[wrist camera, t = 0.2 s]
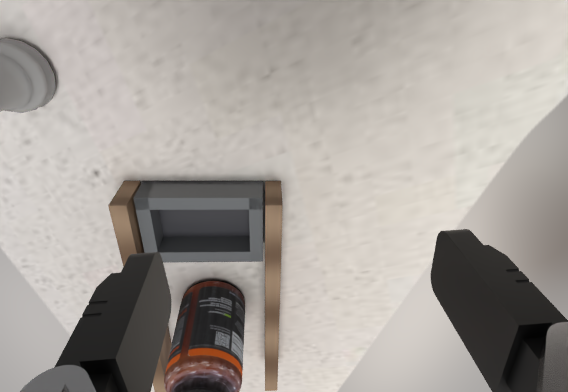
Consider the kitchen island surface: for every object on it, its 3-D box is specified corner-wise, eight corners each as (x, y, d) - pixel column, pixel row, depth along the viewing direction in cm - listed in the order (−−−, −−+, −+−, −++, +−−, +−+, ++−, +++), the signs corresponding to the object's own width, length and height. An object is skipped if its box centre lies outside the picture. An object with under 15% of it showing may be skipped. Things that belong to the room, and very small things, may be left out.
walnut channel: (124, 180, 29) (108, 205, 26) (280, 181, 30) (282, 205, 27) (163, 362, 41) (155, 393, 38) (276, 359, 41) (277, 390, 38)
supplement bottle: (186, 322, 38) (159, 445, 28) (179, 277, 35) (146, 399, 25) (247, 321, 38) (241, 443, 29) (245, 276, 35) (237, 396, 25)
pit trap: (142, 181, 29) (133, 197, 27) (262, 181, 30) (262, 197, 28) (154, 242, 33) (146, 262, 30) (262, 242, 33) (262, 261, 31)
